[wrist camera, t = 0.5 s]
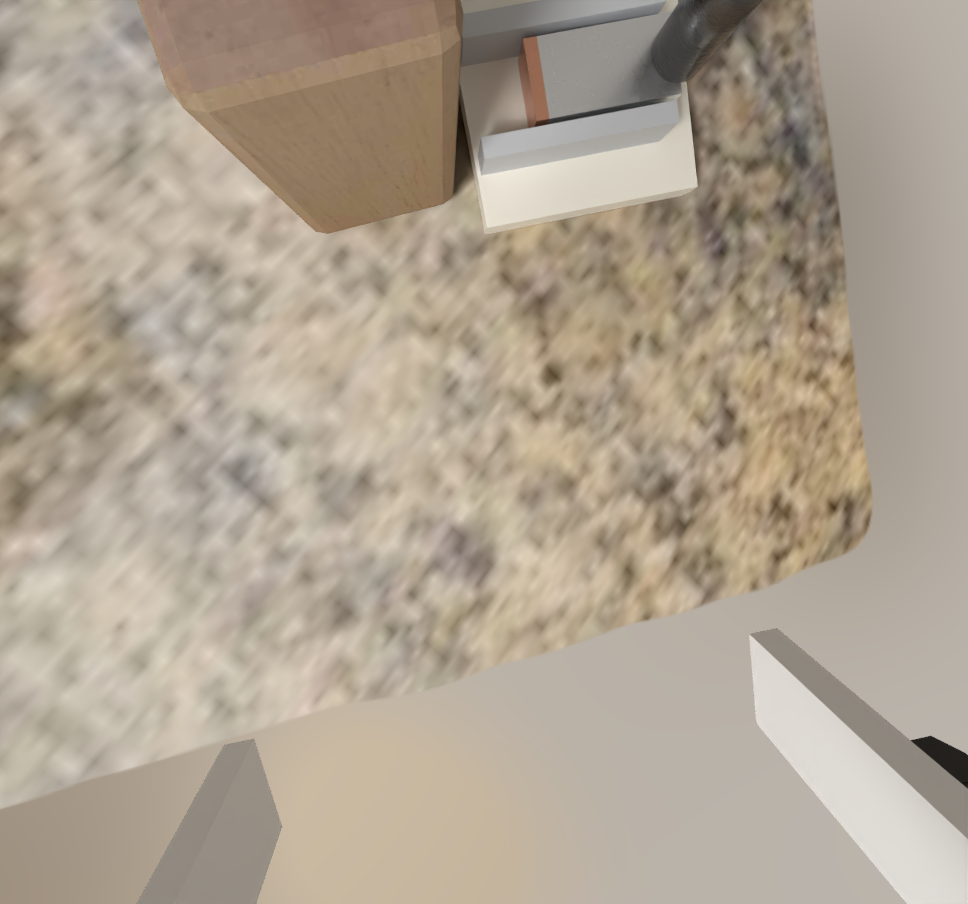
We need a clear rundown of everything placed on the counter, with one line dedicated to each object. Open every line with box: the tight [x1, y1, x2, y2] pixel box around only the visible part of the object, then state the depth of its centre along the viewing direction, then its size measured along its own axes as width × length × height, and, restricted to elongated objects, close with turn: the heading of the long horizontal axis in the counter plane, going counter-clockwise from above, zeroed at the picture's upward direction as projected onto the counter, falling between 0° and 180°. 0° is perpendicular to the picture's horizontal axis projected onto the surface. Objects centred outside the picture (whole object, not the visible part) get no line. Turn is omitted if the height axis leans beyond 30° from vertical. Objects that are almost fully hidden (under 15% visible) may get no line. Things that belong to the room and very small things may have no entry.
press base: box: [459, 0, 698, 234], centre depth 33 cm, size 14×14×5 cm
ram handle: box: [518, 0, 762, 128], centre depth 27 cm, size 4×11×12 cm, turn 101°
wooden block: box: [137, 0, 463, 234], centre depth 25 cm, size 10×10×20 cm
